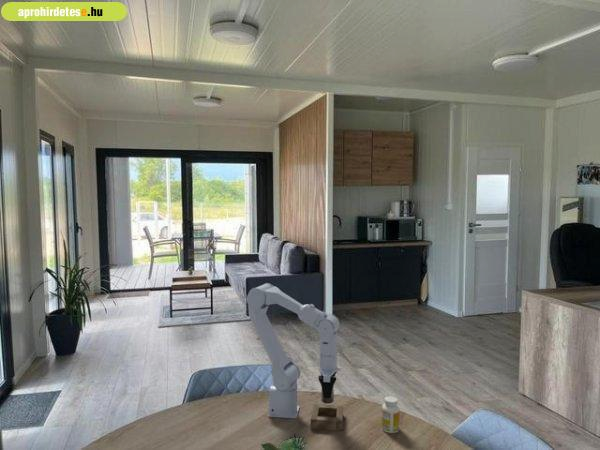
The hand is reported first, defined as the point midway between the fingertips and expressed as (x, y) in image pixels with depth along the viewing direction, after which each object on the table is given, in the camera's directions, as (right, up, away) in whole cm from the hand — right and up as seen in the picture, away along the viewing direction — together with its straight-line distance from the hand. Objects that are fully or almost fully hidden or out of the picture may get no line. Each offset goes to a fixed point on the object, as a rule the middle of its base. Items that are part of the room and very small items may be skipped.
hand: (327, 394), depth 138 cm
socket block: (0, -9, +1) cm, 9 cm away
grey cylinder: (0, -2, 0) cm, 2 cm away
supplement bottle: (+20, -10, -4) cm, 22 cm away
